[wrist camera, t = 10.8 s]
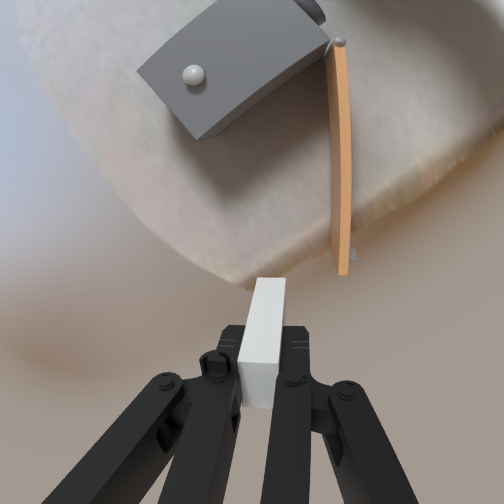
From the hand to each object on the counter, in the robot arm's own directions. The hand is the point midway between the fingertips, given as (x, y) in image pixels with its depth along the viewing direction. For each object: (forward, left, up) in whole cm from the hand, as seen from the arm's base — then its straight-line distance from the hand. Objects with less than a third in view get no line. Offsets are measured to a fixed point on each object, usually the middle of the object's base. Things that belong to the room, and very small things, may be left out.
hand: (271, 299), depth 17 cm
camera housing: (-7, -16, -22) cm, 29 cm away
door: (-9, -1, -22) cm, 24 cm away
